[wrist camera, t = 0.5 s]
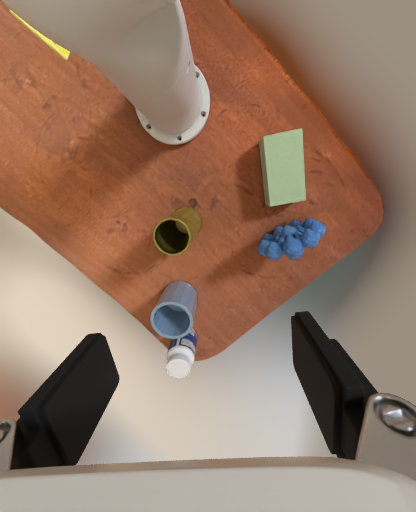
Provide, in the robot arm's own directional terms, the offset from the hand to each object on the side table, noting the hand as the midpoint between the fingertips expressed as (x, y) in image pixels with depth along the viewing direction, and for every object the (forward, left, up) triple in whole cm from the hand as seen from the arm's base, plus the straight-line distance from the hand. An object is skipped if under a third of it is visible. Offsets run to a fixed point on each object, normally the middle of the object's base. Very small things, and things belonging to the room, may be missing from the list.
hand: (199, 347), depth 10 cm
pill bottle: (+24, -11, -33) cm, 42 cm away
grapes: (+4, +13, -33) cm, 36 cm away
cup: (+14, -10, -33) cm, 37 cm away
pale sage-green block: (-8, +14, -33) cm, 37 cm away
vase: (-2, -5, -33) cm, 34 cm away
